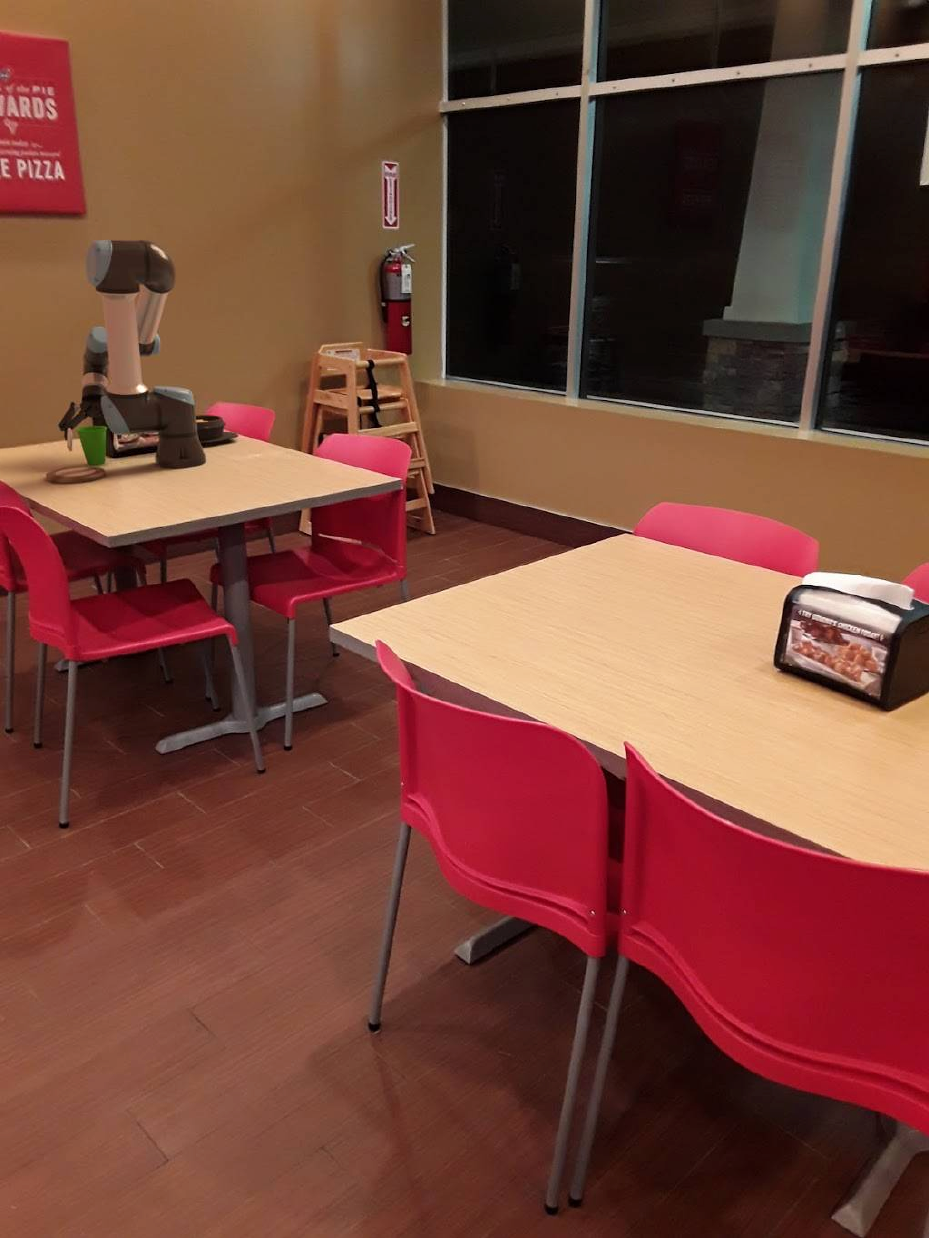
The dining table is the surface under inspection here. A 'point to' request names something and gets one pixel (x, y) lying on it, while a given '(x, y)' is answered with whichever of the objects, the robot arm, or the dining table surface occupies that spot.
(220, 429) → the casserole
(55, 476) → the walnut board
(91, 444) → the cup
